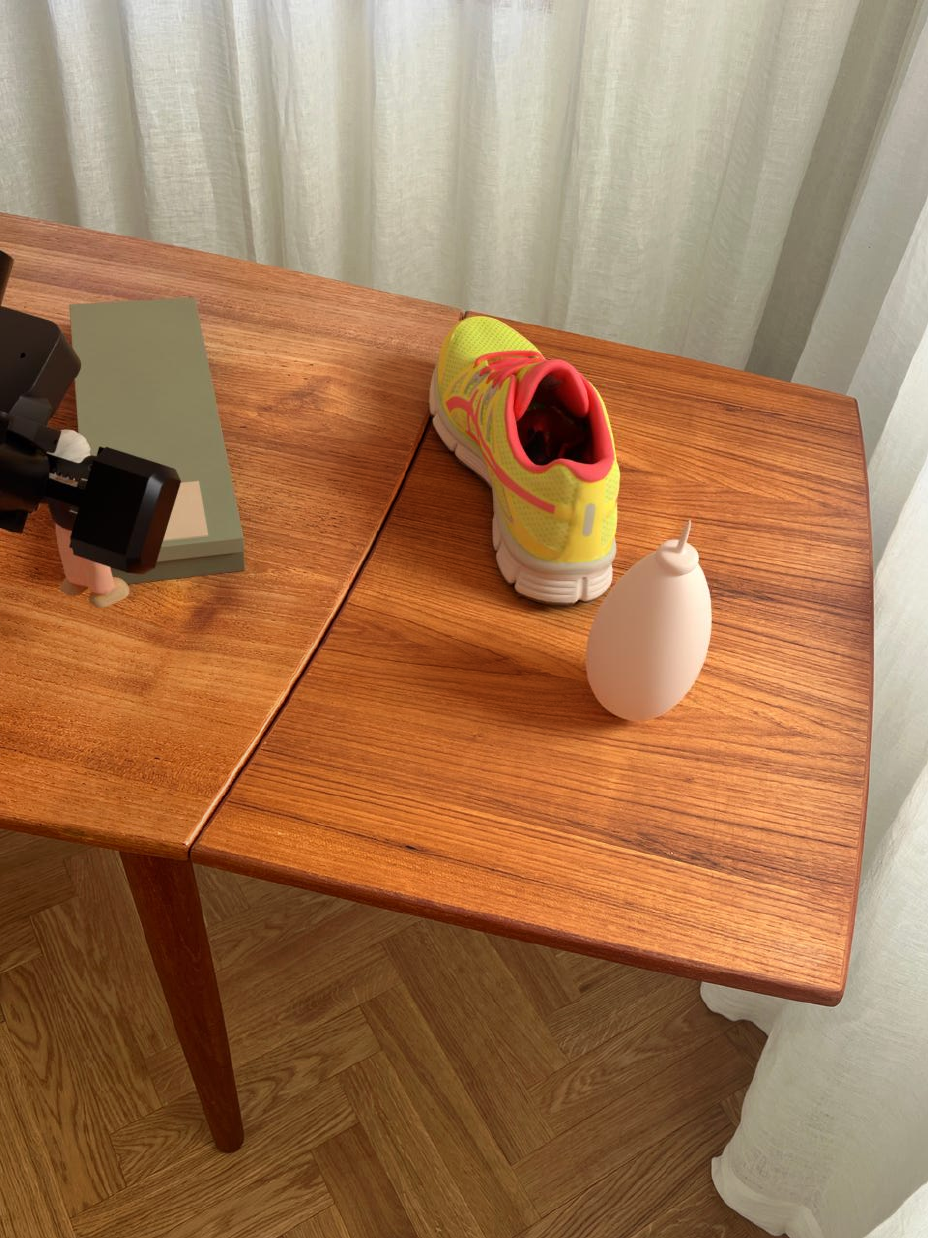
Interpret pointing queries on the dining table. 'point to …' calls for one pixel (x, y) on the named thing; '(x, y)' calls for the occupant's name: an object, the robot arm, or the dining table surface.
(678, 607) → the white bulb air blower
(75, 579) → the grandmother figurine
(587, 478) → the running shoe
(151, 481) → the robot arm
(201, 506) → the olive green stone
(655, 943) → the dining table surface
